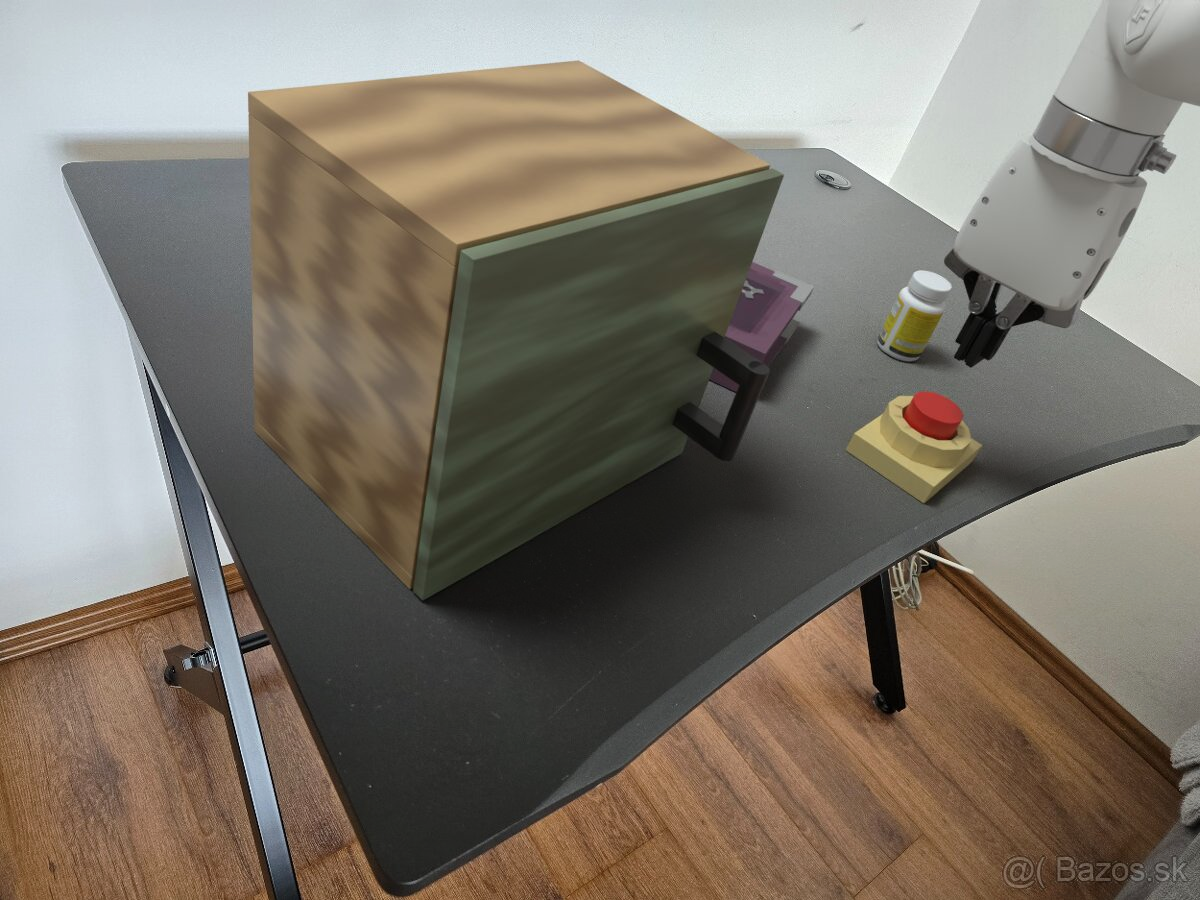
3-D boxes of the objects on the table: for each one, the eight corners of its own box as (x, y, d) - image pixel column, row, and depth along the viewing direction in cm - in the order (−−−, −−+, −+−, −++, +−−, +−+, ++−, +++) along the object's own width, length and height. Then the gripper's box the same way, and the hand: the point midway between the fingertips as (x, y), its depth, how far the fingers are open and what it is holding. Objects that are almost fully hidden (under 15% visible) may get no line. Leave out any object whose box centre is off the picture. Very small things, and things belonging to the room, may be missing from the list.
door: (732, 491, 72) (852, 211, 57) (477, 657, 55) (553, 317, 40) (673, 446, 75) (772, 167, 60) (412, 591, 57) (460, 249, 42)
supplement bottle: (928, 359, 96) (965, 290, 91) (898, 365, 94) (935, 295, 88) (896, 334, 99) (930, 265, 94) (866, 339, 96) (900, 270, 91)
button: (917, 403, 82) (927, 385, 80) (960, 430, 80) (971, 412, 78) (894, 419, 79) (904, 400, 77) (938, 448, 77) (949, 429, 76)
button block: (897, 413, 86) (916, 380, 84) (972, 461, 83) (993, 428, 80) (845, 450, 80) (863, 414, 77) (923, 504, 76) (945, 468, 74)
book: (796, 328, 95) (814, 286, 92) (748, 398, 83) (766, 353, 80) (583, 234, 100) (593, 192, 97) (509, 287, 88) (517, 241, 85)
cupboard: (670, 446, 75) (771, 164, 60) (409, 590, 57) (457, 244, 42) (523, 334, 82) (578, 59, 67) (254, 431, 65) (247, 91, 50)
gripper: (1213, 178, 62) (1069, 393, 74) (1014, 94, 69) (910, 303, 80) (1186, 195, 57) (1036, 422, 69) (975, 102, 64) (870, 324, 75)
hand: (969, 358), depth 74 cm, fingers closed
